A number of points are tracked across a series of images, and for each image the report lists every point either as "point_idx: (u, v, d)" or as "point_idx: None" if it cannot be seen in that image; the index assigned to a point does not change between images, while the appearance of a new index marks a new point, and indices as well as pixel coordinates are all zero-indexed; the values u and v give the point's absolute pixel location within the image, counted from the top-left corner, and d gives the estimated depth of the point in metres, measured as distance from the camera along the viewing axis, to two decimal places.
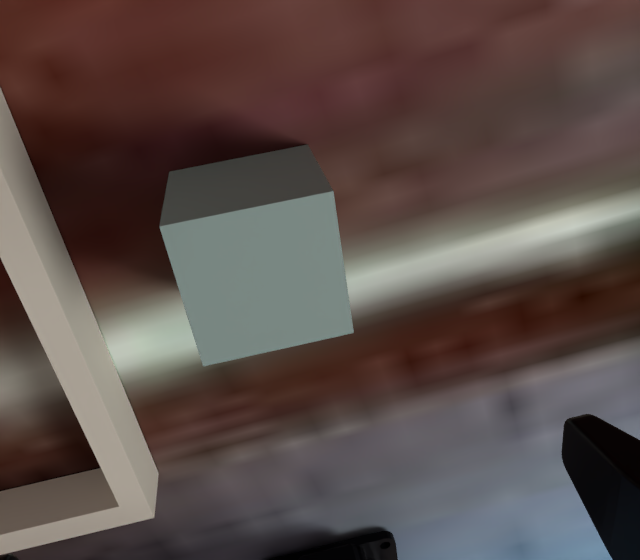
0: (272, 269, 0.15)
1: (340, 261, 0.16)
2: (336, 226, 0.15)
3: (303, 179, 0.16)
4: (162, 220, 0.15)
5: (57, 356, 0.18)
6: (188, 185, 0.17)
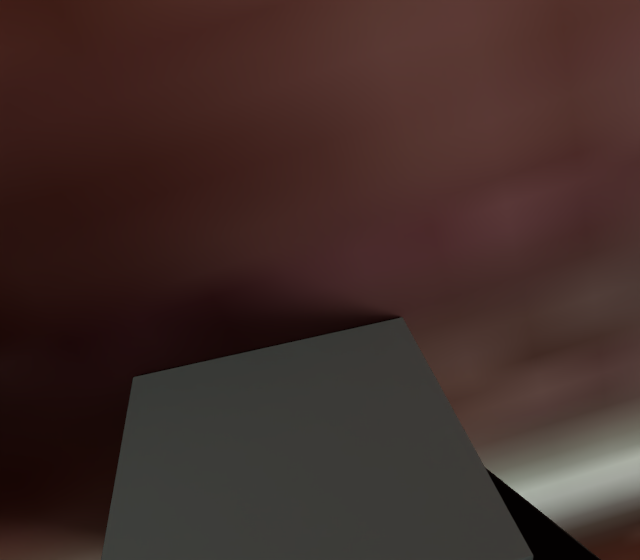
0: None
1: None
2: None
3: (432, 475, 0.07)
4: None
5: None
6: (167, 447, 0.08)
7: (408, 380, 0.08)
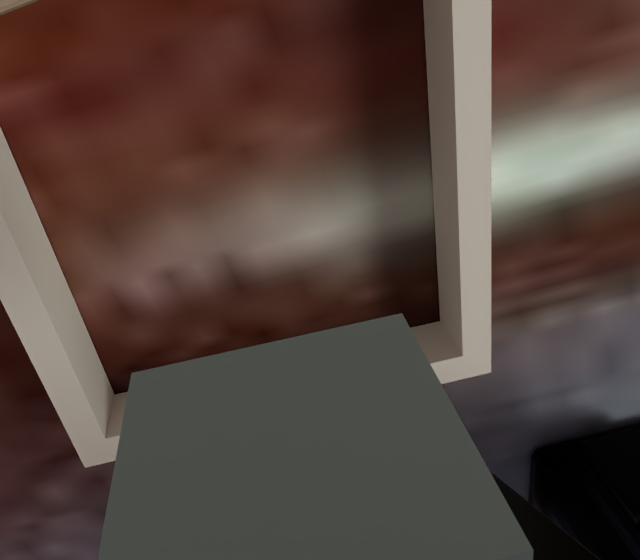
0: None
1: None
2: None
3: (432, 469, 0.07)
4: None
5: (466, 158, 0.16)
6: (166, 442, 0.08)
7: (408, 375, 0.08)
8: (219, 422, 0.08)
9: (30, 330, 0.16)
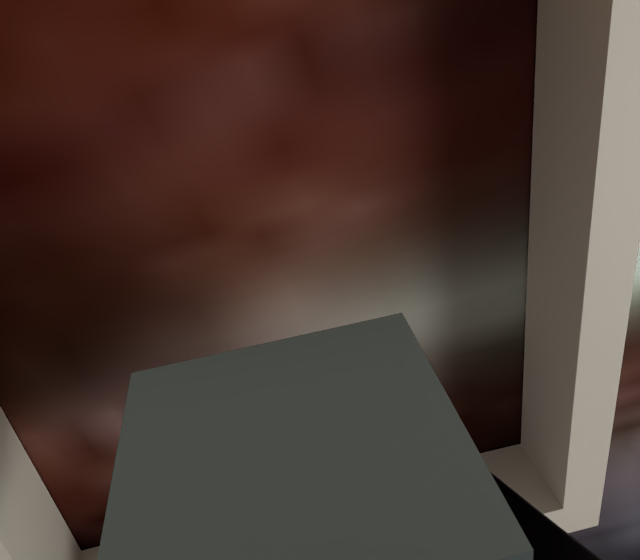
0: None
1: None
2: None
3: (432, 469, 0.07)
4: None
5: (601, 258, 0.11)
6: (165, 442, 0.08)
7: (407, 375, 0.08)
8: (219, 422, 0.08)
9: None
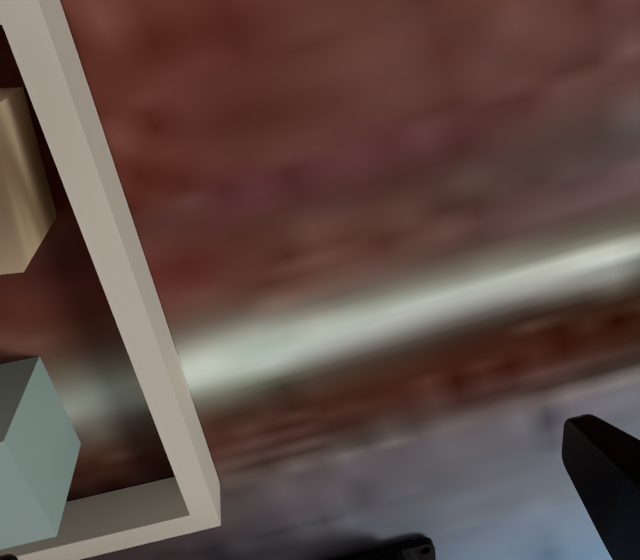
0: None
1: (26, 488, 0.18)
2: (14, 464, 0.18)
3: None
4: None
5: (146, 379, 0.20)
6: None
7: (17, 383, 0.20)
8: None
9: None
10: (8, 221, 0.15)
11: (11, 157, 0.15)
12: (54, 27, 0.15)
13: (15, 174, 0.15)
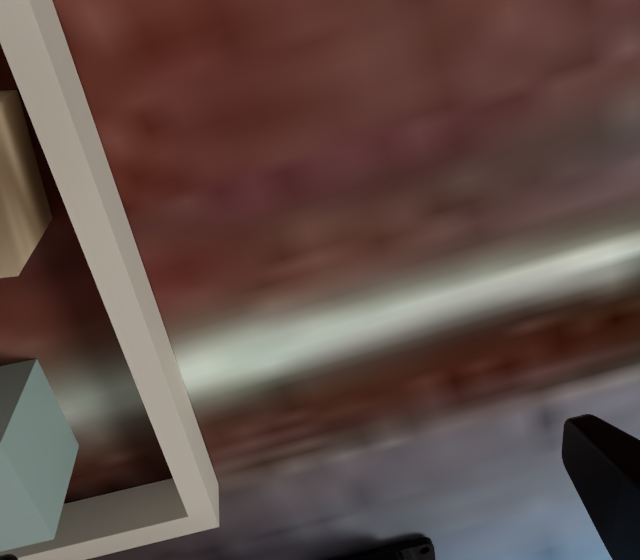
0: None
1: (23, 491, 0.18)
2: (11, 468, 0.18)
3: None
4: None
5: (143, 381, 0.20)
6: None
7: (14, 386, 0.20)
8: None
9: None
10: (2, 225, 0.15)
11: (5, 160, 0.15)
12: (47, 30, 0.15)
13: (9, 178, 0.15)
